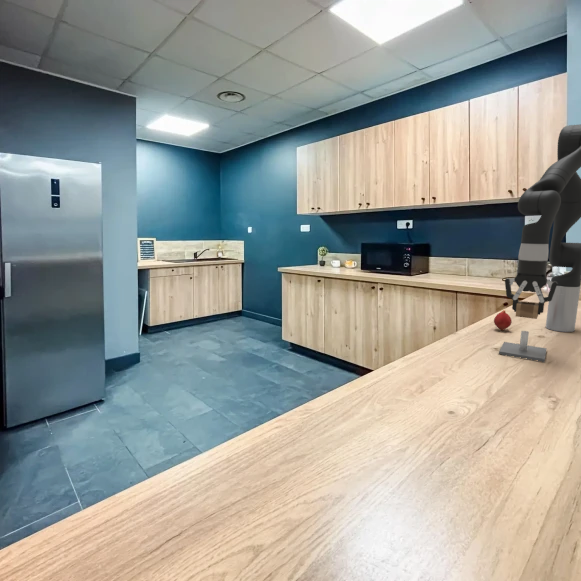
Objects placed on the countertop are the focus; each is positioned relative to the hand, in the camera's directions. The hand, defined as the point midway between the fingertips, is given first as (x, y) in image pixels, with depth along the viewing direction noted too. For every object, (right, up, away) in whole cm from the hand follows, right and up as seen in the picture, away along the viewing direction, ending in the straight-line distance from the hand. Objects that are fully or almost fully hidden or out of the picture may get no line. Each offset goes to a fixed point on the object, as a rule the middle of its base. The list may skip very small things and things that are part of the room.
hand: (527, 312), depth 118 cm
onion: (+7, -9, +27) cm, 30 cm away
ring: (0, -1, 0) cm, 1 cm away
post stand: (0, -13, +2) cm, 13 cm away
